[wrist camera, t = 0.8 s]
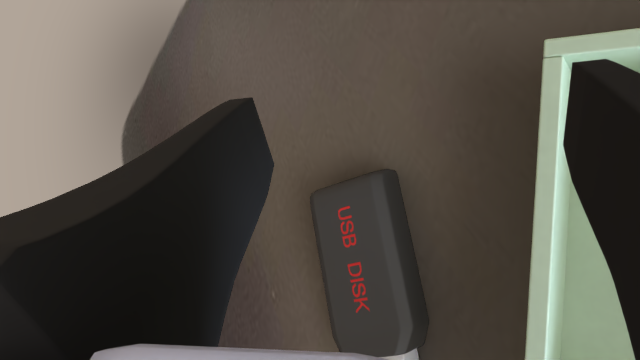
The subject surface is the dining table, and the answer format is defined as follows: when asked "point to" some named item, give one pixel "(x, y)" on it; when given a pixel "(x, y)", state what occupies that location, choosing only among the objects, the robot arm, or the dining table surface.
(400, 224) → the usb drive
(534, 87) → the dining table surface
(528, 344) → the desk tray
